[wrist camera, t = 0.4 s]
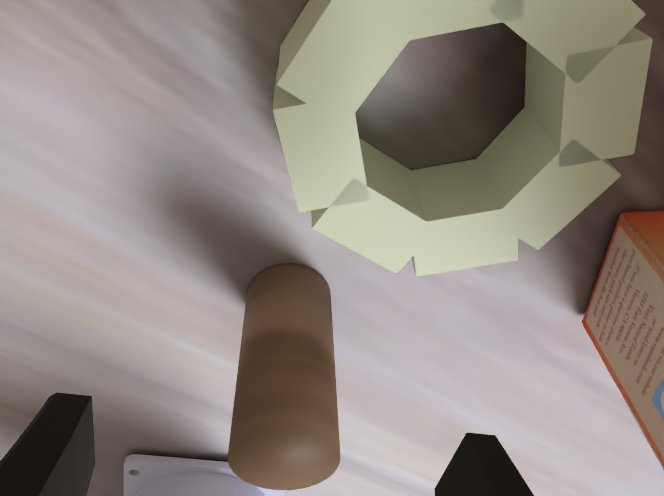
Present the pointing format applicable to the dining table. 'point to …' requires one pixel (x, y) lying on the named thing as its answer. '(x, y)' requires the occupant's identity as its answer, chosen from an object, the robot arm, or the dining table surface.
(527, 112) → the sage bead
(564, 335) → the dining table surface
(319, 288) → the brown wooden cylinder
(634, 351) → the cracker box
